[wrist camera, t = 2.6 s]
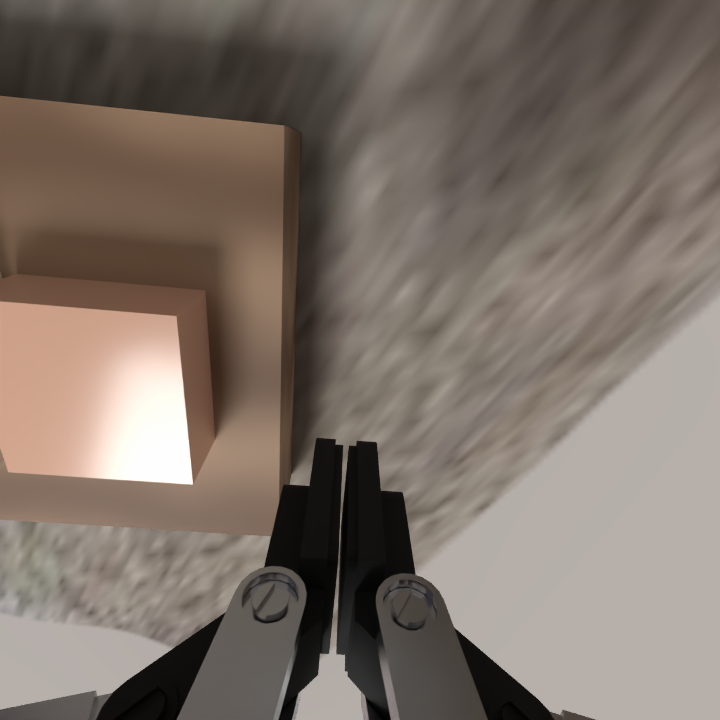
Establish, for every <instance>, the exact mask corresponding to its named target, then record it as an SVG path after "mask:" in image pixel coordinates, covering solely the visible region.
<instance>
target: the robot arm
mask: <svg viewBox="0 0 720 720" xmlns="http://www.w3.org/2000/svg"><path fill="white" fill-rule="evenodd" d="M335 443H336V439H323V438H316V444H315V451H314V458H313V465H312V472H311V479H310V486H299V485H283V488H282V492H281V496H280V500H279V505H278V509H277V513H276V518H275V522H274V527H273V531H272V535H271V540H270V544H269V549H268V553H267V557H266V562H265V566H264V568H260V569H258V570H256V571H254V572H252V573H250V574H249V575H248V576H247V577H246V578H244V579H243V580H242V581H241V583H240V584H239V586H238V588H237V589H236V591H235V593H234V595H233V598H232V600H231V602H230V604H229V606H228V609H227V611H226V612H225V613H224V614H222V615H221V616H220V617H218V618H217V619H215V620H214V621H212V622H211V623H209V624H208V625H207V626H205V627H204V628H202V629H201V630H199V631H198V632H197V633H195V634H194V635H192V636H191V637H189V638H188V639H186V640H185V641H184V642H182V643H181V644H179V645H178V646H176V647H175V648H173V649H172V650H171V651H169V652H168V653H166V654H165V655H163V656H162V657H160V658H159V659H158V660H156V661H155V662H153V663H152V664H150V665H149V666H148V667H146V668H145V669H143V670H142V671H140V672H139V673H137V674H136V675H134V676H133V677H132V678H130V679H129V680H127V681H126V682H125V683H124V684H122V685H121V686H120V687H119V688H118V689H117V690H115V691H114V692H113V693H111V694H106V695H101V696H97V693H96V691H92V692H86V693H81V694H76V695H71V696H66V697H61V698H56V699H52V700H47V701H41V702H36V703H31V704H26V705H21V706H17V707H11V708H7V709H2V710H0V720H295V718H296V714H297V709H298V705H299V701H300V692H301V690H302V689H304V688H305V686H307V685H308V684H309V683H310V682H311V681H312V680H313V679H314V678H315V677H316V676H317V675H318V669H319V657H320V654H329V648H330V638H331V628H332V618H333V608H334V598H335V587H336V577H337V567H338V553H339V531H340V507H341V482H342V458H343V445H335ZM337 654H341V655H345V671H348V677H349V678H350V679H351V680H352V682H354V683H355V685H356V686H357V687H358V688H359V689H360V691H361V704H362V711H363V718H364V720H595V719H591V718H588V717H585V716H582V715H578V714H575V713H572V712H568V711H565V710H563V711H562V712H561V714H560V715H559V714H555V713H552V712H549V710H547V708H546V707H545V706H544V705H543V704H542V703H541V702H540V701H539V700H538V699H537V698H536V697H535V696H533V695H532V694H531V693H530V692H529V691H528V690H527V689H525V688H524V687H523V686H522V685H521V684H520V683H518V682H517V681H516V680H515V679H514V678H513V677H511V676H510V675H509V674H508V673H507V672H505V671H504V670H503V669H502V668H501V667H499V666H498V665H497V664H496V663H495V662H494V661H493V660H491V659H490V658H489V657H488V656H487V655H486V654H484V653H483V652H482V651H481V650H480V649H479V648H477V647H476V646H475V645H474V644H473V643H472V642H470V641H469V640H468V639H467V638H466V637H465V636H463V635H462V634H461V633H460V632H459V631H458V630H456V629H455V628H454V626H453V624H452V621H451V619H450V615H449V613H448V610H447V607H446V604H445V602H444V600H443V598H442V596H441V594H440V592H439V591H438V590H437V589H436V587H434V585H433V584H432V583H430V582H429V581H427V580H426V579H424V578H422V577H420V576H417V575H415V568H414V562H413V555H412V549H411V542H410V535H409V529H408V522H407V515H406V509H405V502H404V496H403V493H402V492H392V491H381V489H380V476H379V464H378V452H377V443H376V442H366V441H357V444H356V446H349V451H348V461H347V471H346V481H345V492H344V502H343V512H342V523H341V543H340V570H339V596H338V623H337Z"/></svg>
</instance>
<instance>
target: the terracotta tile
mask: <svg viewBox="0 0 720 720" xmlns="http://www.w3.org/2000/svg"><path fill="white" fill-rule="evenodd" d="M214 441H215V429H214V414H213V399H212V383H211V368H210V352H209V337H208V322H207V306H206V291H205V290H197V289H185V288H174V287H162V286H151V285H139V284H128V283H116V282H105V281H93V280H82V279H70V278H59V277H47V276H36V275H24V274H15V275H12V276H9V277H6V278H4V279H1V280H0V449H1V452H2V455H3V458H4V461H5V464H6V467H7V470H8V472H12V473H27V474H42V475H57V476H72V477H87V478H102V479H117V480H132V481H147V482H162V483H177V484H192V485H193V483H194V481H195V479H196V477H197V475H198V473H199V471H200V469H201V467H202V465H203V463H204V461H205V459H206V457H207V455H208V453H209V451H210V449H211V447H212V445H213V443H214Z"/></svg>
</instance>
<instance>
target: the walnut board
mask: <svg viewBox="0 0 720 720" xmlns="http://www.w3.org/2000/svg"><path fill="white" fill-rule="evenodd" d="M300 157H301V132H299V131H297V130H294V129H292V128H289V127H287V126H284V125H275V124H265V123H256V122H246V121H237V120H227V119H217V118H208V117H198V116H189V115H179V114H170V113H160V112H151V111H141V110H132V109H122V108H112V107H103V106H93V105H84V104H74V103H65V102H55V101H46V100H36V99H27V98H17V97H7V96H0V272H1V275H2V279H4V278H6V277H9V276H12V275H15V274H24V275H36V276H47V277H59V278H70V279H82V280H93V281H105V282H116V283H128V284H139V285H151V286H162V287H174V288H185V289H197V290H205V291H206V306H207V322H208V337H209V352H210V368H211V383H212V399H213V414H214V429H215V441H214V443H213V445H212V447H211V449H210V451H209V453H208V455H207V457H206V459H205V461H204V463H203V465H202V467H201V469H200V471H199V473H198V475H197V477H196V479H195V481H194V483H193V485H192V484H177V483H162V482H147V481H132V480H117V479H102V478H87V477H72V476H57V475H42V474H27V473H12V472H8V470H7V467H6V464H5V461H4V462H3V463H2V464H0V520H16V521H33V522H49V523H65V524H81V525H97V526H114V527H130V528H146V529H162V530H178V531H195V532H211V533H227V534H243V535H259V536H271V535H272V531H273V527H274V522H275V518H276V513H277V509H278V505H279V500H280V496H281V492H282V488H283V485H289V483H290V479H291V463H292V429H293V395H294V361H295V327H296V293H297V259H298V225H299V191H300Z"/></svg>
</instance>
